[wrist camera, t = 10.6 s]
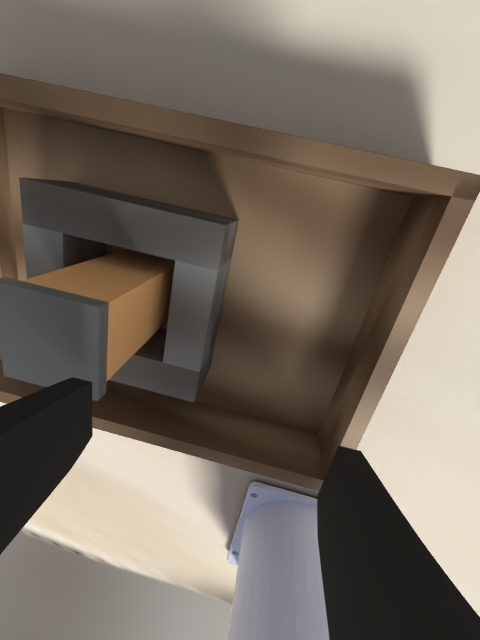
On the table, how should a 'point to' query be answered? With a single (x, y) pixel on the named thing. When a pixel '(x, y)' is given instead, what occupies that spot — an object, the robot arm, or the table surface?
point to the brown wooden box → (231, 267)
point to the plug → (83, 318)
